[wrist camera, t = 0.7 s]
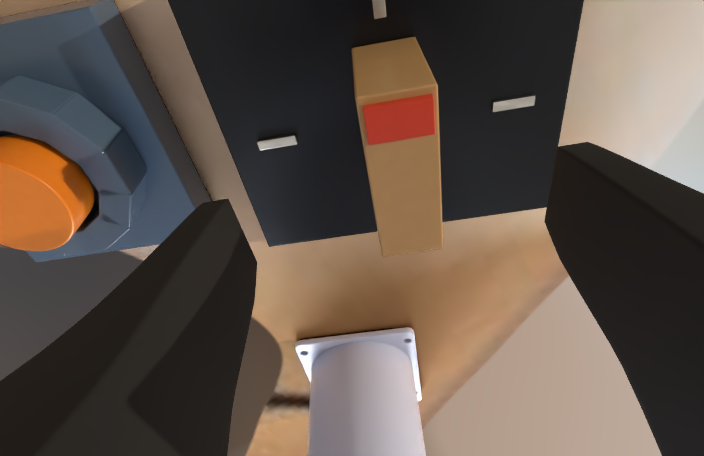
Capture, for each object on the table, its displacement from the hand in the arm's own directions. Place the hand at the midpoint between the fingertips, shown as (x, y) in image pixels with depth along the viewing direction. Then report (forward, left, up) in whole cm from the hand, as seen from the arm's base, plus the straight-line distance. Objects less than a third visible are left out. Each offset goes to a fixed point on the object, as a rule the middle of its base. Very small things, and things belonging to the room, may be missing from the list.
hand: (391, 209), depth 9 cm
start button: (-1, +13, -6) cm, 14 cm away
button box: (-1, +13, -9) cm, 16 cm away
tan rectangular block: (-1, 0, -6) cm, 6 cm away
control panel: (-1, -1, -9) cm, 9 cm away
